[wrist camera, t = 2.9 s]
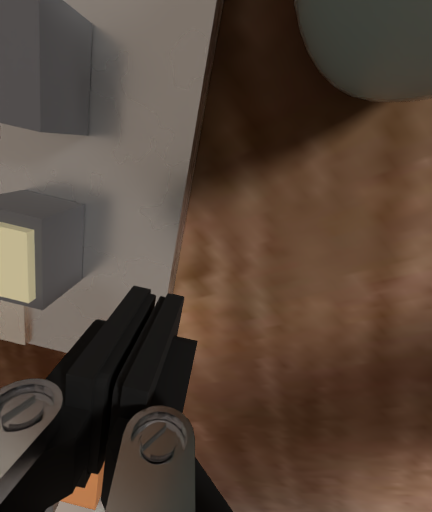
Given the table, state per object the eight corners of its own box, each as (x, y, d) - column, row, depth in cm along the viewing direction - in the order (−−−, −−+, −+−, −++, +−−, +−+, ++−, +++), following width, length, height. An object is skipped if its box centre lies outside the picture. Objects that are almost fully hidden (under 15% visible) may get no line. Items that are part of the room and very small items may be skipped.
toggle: (92, 23, 11) (38, -20, 8) (87, 135, 12) (40, 132, 10) (16, 7, 11) (-64, -42, 8) (20, 120, 12) (-46, 112, 10)
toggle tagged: (84, 204, 13) (34, 221, 10) (81, 279, 15) (36, 315, 12) (22, 189, 14) (-47, 202, 10) (25, 266, 15) (-35, 298, 12)
